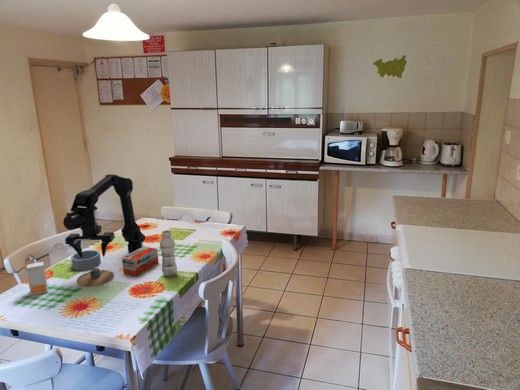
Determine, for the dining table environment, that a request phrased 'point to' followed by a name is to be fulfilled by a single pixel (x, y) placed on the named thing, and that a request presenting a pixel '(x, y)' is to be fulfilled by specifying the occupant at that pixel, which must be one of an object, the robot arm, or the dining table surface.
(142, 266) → the red printed carton
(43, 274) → the skincare box
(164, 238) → the plastic bottle
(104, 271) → the walnut lid
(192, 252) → the dining table surface
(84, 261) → the slate bowl
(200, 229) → the dining table surface
